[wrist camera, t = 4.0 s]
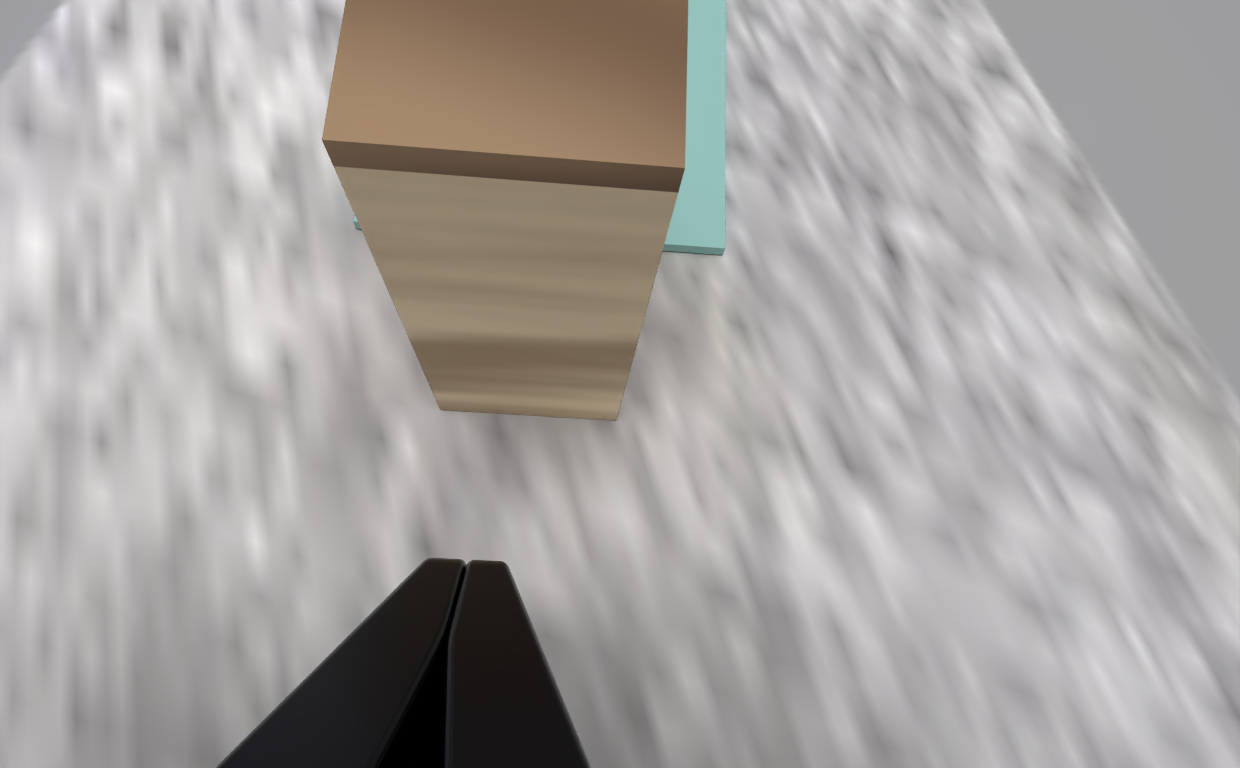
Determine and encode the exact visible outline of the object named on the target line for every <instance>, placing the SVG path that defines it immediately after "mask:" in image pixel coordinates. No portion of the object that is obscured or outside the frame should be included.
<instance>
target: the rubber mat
mask: <svg viewBox="0 0 1240 768" xmlns="http://www.w3.org/2000/svg"><path fill="white" fill-rule="evenodd" d="M725 87H726V0H688V47H687V97H686V147H685V170H684V174H683V178H682V181H681V185H680V189H679V192H678V196H677V200H676V203H675V207H674V211H673V214H672V218H671V222H670V225H669V229H668V233H667V236H666V240H665V244H664V247H663V251H675V252H688V253H702V254H716V255H722V254H723V252H724V249H725ZM353 222H354V224H355V226H356V229H361V228H360V225H359V223H358V221H357V218H356V216H355V214H354V220H353Z"/></svg>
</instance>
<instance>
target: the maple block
mask: <svg viewBox="0 0 1240 768" xmlns="http://www.w3.org/2000/svg"><path fill="white" fill-rule="evenodd" d="M687 47H688V0H346V2H345V8H344V14H343V20H342V26H341V32H340V37H339V43H338V49H337V55H336V61H335V67H334V72H333V78H332V84H331V90H330V96H329V102H328V107H327V113H326V119H325V125H324V131H323V137H322V141H323V143H324V145H325V148H326V150H327V152H328V155H329V157H330V159H331V161H332V164H333V166H334V168H335V171H336V173H337V175H338V177H339V180H340V182H341V184H342V186H343V189H344V191H345V193H346V196H347V198H348V200H349V202H350V205H351V207H352V209H353V212H354V214H355V216H356V218H357V221H358V223H359V225H360V228H361V230H362V232H363V234H364V237H365V239H366V241H367V244H368V246H369V248H370V250H371V253H372V255H373V257H374V260H375V262H376V264H377V266H378V269H379V271H380V273H381V276H382V278H383V280H384V282H385V285H386V287H387V289H388V292H389V294H390V296H391V298H392V301H393V303H394V305H395V307H396V310H397V312H398V314H399V317H400V319H401V321H402V323H403V326H404V328H405V330H406V333H407V335H408V337H409V339H410V342H411V344H412V346H413V349H414V351H415V353H416V355H417V358H418V360H419V362H420V365H421V367H422V369H423V371H424V374H425V376H426V378H427V381H428V383H429V385H430V387H431V390H432V392H433V394H434V397H435V399H436V401H437V403H438V406H439V408H440V410H449V411H466V412H482V413H499V414H516V415H532V416H549V417H566V418H582V419H599V420H617V416H618V412H619V409H620V405H621V401H622V398H623V394H624V390H625V387H626V383H627V379H628V376H629V372H630V368H631V365H632V361H633V357H634V354H635V350H636V346H637V343H638V339H639V335H640V332H641V328H642V324H643V321H644V317H645V313H646V310H647V306H648V302H649V299H650V295H651V291H652V288H653V284H654V280H655V277H656V273H657V269H658V266H659V262H660V258H661V255H662V251H663V247H664V244H665V240H666V236H667V233H668V229H669V225H670V222H671V218H672V214H673V211H674V207H675V203H676V200H677V196H678V192H679V189H680V185H681V181H682V178H683V174H684V170H685V147H686V97H687Z"/></svg>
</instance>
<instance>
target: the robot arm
mask: <svg viewBox="0 0 1240 768" xmlns="http://www.w3.org/2000/svg"><path fill="white" fill-rule="evenodd" d="M216 768H591V767H590V764H589V762H588V759H587V757H586V755H585V752H584V750H583V747H582V745H581V742H580V740H579V737H578V735H577V733H576V730H575V728H574V725H573V723H572V720H571V718H570V716H569V713H568V711H567V708H566V706H565V703H564V701H563V698H562V696H561V694H560V691H559V689H558V686H557V684H556V681H555V679H554V677H553V674H552V672H551V669H550V667H549V664H548V662H547V659H546V657H545V655H544V652H543V650H542V647H541V645H540V642H539V640H538V638H537V635H536V633H535V630H534V628H533V625H532V623H531V620H530V618H529V616H528V613H527V611H526V608H525V606H524V603H523V601H522V599H521V596H520V594H519V591H518V589H517V586H516V584H515V581H514V579H513V577H512V574H511V572H510V569H509V567H508V566H507V564H506V563H504V562H502V561H485V560H472V561H470V562H469V563H468V564H467V565H466V564H465V562H464V561H463V560H460V559H445V558H429V559H427V560H425V561H423V562H422V563H421V564H420V565H419V566H418V567H417V568H416V569H415V570H414V571H413V572H412V573H411V574H410V575H409V576H408V577H407V578H406V579H405V580H404V581H403V582H402V583H401V584H400V585H399V586H398V587H397V588H396V589H395V590H394V591H393V592H392V593H391V594H390V595H389V596H388V597H387V598H386V599H385V600H384V601H383V602H382V603H381V604H380V605H379V606H378V607H377V608H376V609H375V610H374V611H373V612H372V613H371V614H370V615H369V616H368V617H367V618H366V619H365V620H364V621H363V622H362V623H361V624H360V625H359V626H358V627H357V628H356V629H355V630H354V631H353V632H352V633H351V634H350V635H349V636H348V637H347V638H346V639H345V640H344V641H343V642H342V643H341V644H340V645H339V646H338V647H337V648H336V649H335V650H334V651H333V652H332V653H331V654H330V655H329V656H328V657H327V658H326V659H325V660H324V661H323V662H322V663H321V664H320V665H319V666H318V667H317V668H316V669H315V670H314V671H313V672H312V673H311V674H310V675H309V676H308V677H307V678H306V679H305V680H304V681H303V682H302V683H301V684H300V685H299V686H298V687H297V688H296V689H294V690H293V691H292V692H291V693H290V694H289V695H288V696H287V697H286V698H285V699H284V700H283V701H282V702H281V703H280V704H279V705H278V706H277V707H276V708H275V709H274V710H273V711H272V712H271V713H270V714H269V715H268V716H267V717H266V718H265V719H264V720H263V721H262V722H261V723H260V724H259V725H258V726H257V727H256V728H255V729H254V730H253V731H252V732H251V733H250V734H249V735H248V736H247V737H246V738H245V739H244V740H243V741H242V742H241V743H240V744H239V745H238V746H237V747H236V748H235V749H234V750H233V751H232V752H231V753H230V754H229V755H228V756H227V757H226V758H225V759H224V760H223V761H222V762H221V763H220V764H219V765H218V766H217V767H216Z"/></svg>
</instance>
